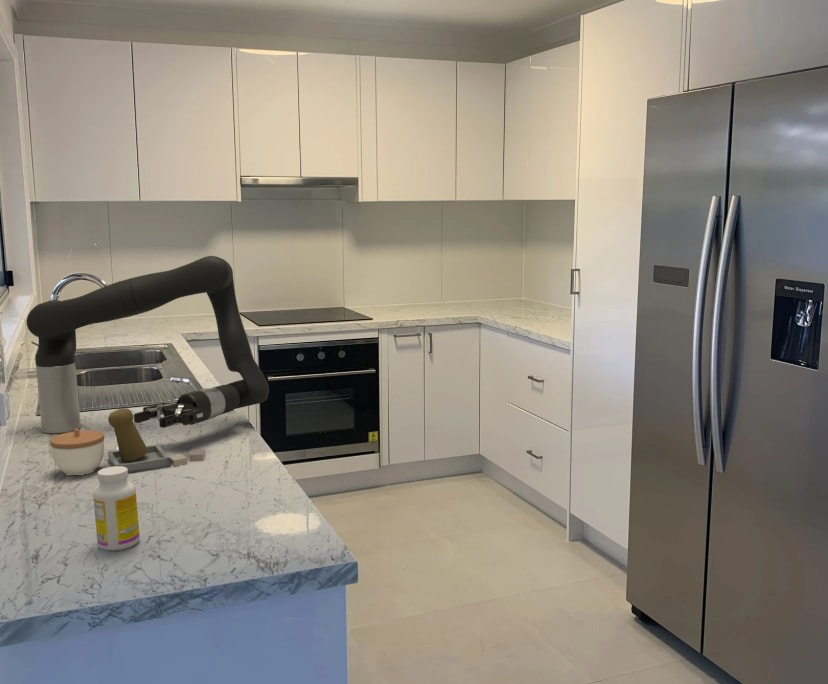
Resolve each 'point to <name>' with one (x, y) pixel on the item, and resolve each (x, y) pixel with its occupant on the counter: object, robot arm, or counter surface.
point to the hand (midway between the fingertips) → (147, 421)
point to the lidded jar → (78, 451)
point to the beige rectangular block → (197, 455)
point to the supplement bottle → (115, 510)
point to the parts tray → (142, 460)
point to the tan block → (178, 460)
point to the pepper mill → (127, 435)
